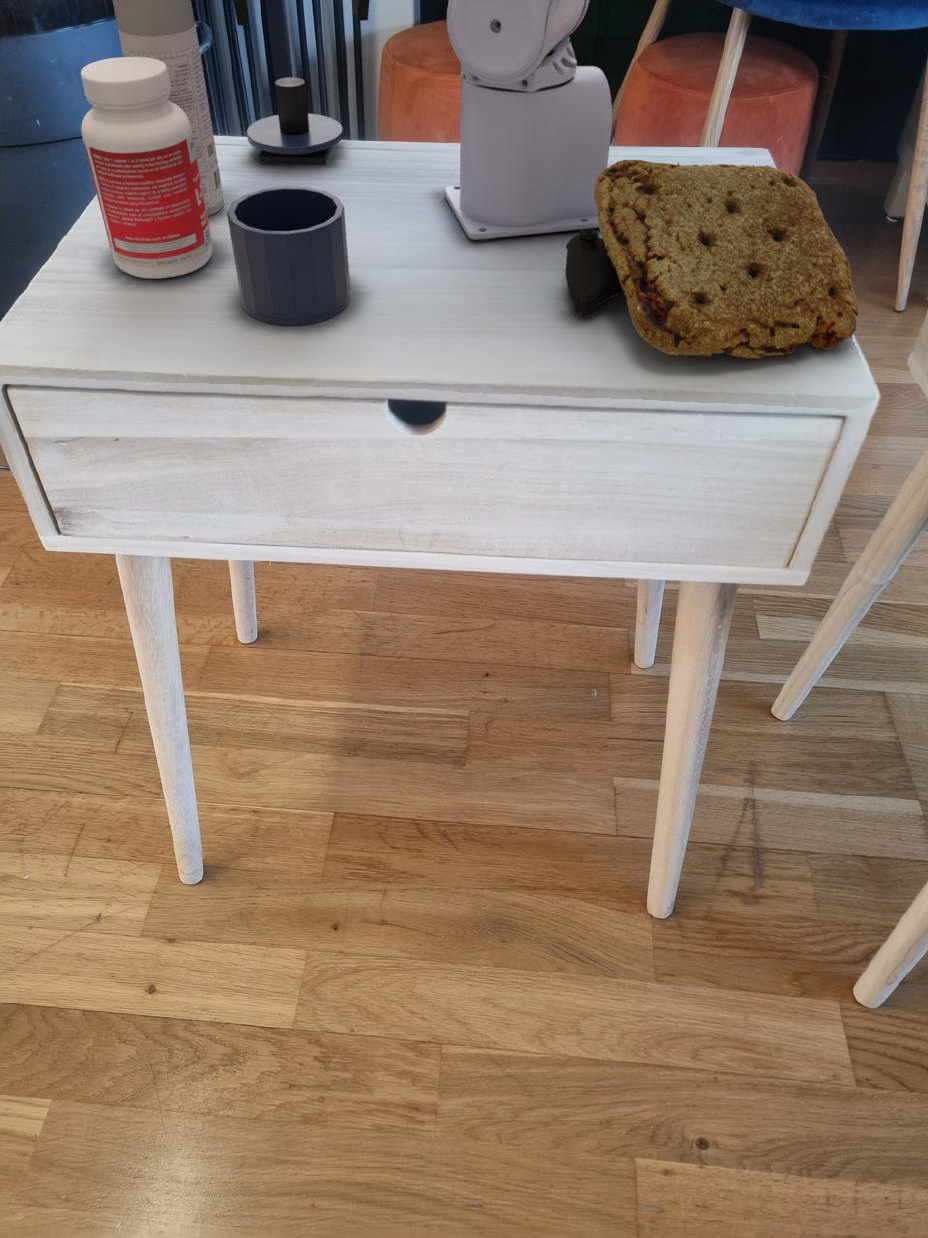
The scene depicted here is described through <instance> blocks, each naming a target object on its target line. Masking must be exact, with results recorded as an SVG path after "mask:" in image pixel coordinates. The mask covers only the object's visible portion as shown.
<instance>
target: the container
mask: <svg viewBox="0 0 928 1238" xmlns="http://www.w3.org/2000/svg"><path fill="white" fill-rule="evenodd" d="M112 4H113V10H114V16H115V21H116V26H117V31H118V37H119V42H120V48H121V51H122V57H146V58H152V59H157V60H159V61H162V62H163V63H165V65H166V67H167V71H168V75H169V79H170V84H171V94H170V96H169V97H168V100H169V101H170V102H172V103H174V104H176V105H177V106H179V107H180V108H181V109H182V110H183V111H184V112H185V114H186V115H187V117H188V119H189V122H190V126H191V130H192V135H193V141H194V146H195V152H196V157H197V163H198V168H199V174H200V179H201V185H202V190H203V195H204V202H205V207H206V213H207V217H209V216H213V215H215V214H217V213H218V212H220V211H221V210H222V209H223V207H224V206H225V199H224V193H223V186H222V180H221V173H220V169H219V162H218V161H219V160H218V155H217V148H216V143H215V136H214V131H213V130H214V129H213V125H212V119H211V118H212V117H211V112H210V111H211V110H210V105H209V99H208V93H207V86H206V80H205V74H204V67H203V61H202V54H201V48H200V42H199V37H198V32H197V26H196V22H195V16H194V10H193V6H192V1H191V0H112Z"/></svg>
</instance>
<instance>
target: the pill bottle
mask: <svg viewBox="0 0 928 1238" xmlns="http://www.w3.org/2000/svg"><path fill="white" fill-rule="evenodd" d="M80 78H81V81H82V87H83V92H84V93H83V94H84V96H85V97H86V100H87V102H88V103H89V104H90V105H91V106H92V108H91V109H90V110H88V111H87V112H86V113H85V115H84V117H83V119H82V122H81V125H80V126H81V127H80V131H81V137H82V142H83V146H84V150H85V153H86V157H87V161H88V165H89V169H90V173H91V178H92V180H93V184H94V188H95V192H96V197H97V200H98V204H99V209H100V212H101V213H100V214H101V216H102V221H103V224H104V228H105V233H106V237H107V241H108V244H109V248H110V252H111V255H112V259H113V262H114V263H115V265H116V266H117V268H119V269H120V270H121V271H123V272H124V273H126V274H128V275H130V276H134V277H137V278H141V279H153V280H154V279H167V278H174V277H179V276H183V275H186V274H190V273H192V272H195V271H197V270H198V269H200V268H202V267H204V265H206V264H207V263H208V261H209V260H210V258H211V256H212V253H213V243H212V235H211V231H210V225H209V220H208V216H207V213H206V207H205V202H204V195H203V190H202V185H201V179H200V174H199V168H198V163H197V157H196V152H195V146H194V141H193V135H192V130H191V126H190V122H189V119H188V117H187V115H186V114H185V112H184V111H183V110H182V109H181V108H180V107H179V106H177V105H176V104H174V103H172V102H170V101H169V100H168V97H169V96H170V94H171V84H170V79H169V75H168V71H167V67H166V65H165V63H163V62H162V61H159V60H157V59H152V58H146V57H123V56H120V57H110V58H105V59H101V60H97V61H93V62H91V63H88V64H86V65H85V66H83V68H81V70H80Z"/></svg>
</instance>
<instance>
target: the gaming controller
mask: <svg viewBox="0 0 928 1238" xmlns="http://www.w3.org/2000/svg"><path fill="white" fill-rule="evenodd" d="M579 230H580V231H579V232H578V234H576V235H574V236H572V237H571V238H570V239H569V241H568V242H567V243H566V246H565V248H566V250H567V251H566V260H565V270H564V271H565V272H564V273H565V279H566V284H567V289H568V294H569V298H570V299H571V302H572V305H573V308H574V311H575V312H576V313H577V314H580V315H582V316H583V315H587V314H588V313H590V312H592V311H594V309H595V308H596V307H597V306H599V305H600V304H602V303H604V302H606V301H607V300H609V299H611V298H613V297H615V296H616V295H622V294H623V295H625V292H624V291H623V288H622V286H621V283H620V280H619V277H618V275H617V271H616V269H615V268H614V267H613V266H612V262H611V259H610V257H609V256H608V251H607V249H606V248H604V246H605V244H604V241H603V239H602V237H599V233H598V232H597V231H596V230H595V229H593V228H589V229H579Z"/></svg>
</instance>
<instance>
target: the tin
mask: <svg viewBox="0 0 928 1238" xmlns="http://www.w3.org/2000/svg"><path fill="white" fill-rule="evenodd" d="M226 215H227V221H228V228H229V234H230V241H231V247H232V253H233V259H234V265H235V271H236V278H237V284H238V289H239V295H240V299H241V303H242V307H243V309H244V310H245V312H246V313H247V314H248V315H249V316H251V317H253V318H254V319H256V320H259V321H261V322H263V323H267V324H272V325H279V326H303V325H305V326H306V325H310V324H316V323H320V322H323V321H326V320H328V319H332V318H333V317H336V315H338V314H340V313H342V312H343V311H344V309H345V308H346V307H347V306H348V305H349V303H350V299H351V281H350V280H351V279H350V278H351V277H350V267H349V254H348V253H349V252H348V243H347V228H346V215H345V205H344V204H343V203H342V201H341V200H340V198H339V197H338V196H336V195H334V194H332V193H330V192H328V191H326V190H323V189H318V188H314V187H309V186H288V185H287V186H276V187H268V188H262V189H259V190H255V191H253V192H249V193H247V194H244V195H242V196H240V197H239V198H237V199H236V200H234V201H233V202H232V203H231V204H230V206H229V208H228V210H227V212H226Z"/></svg>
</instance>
